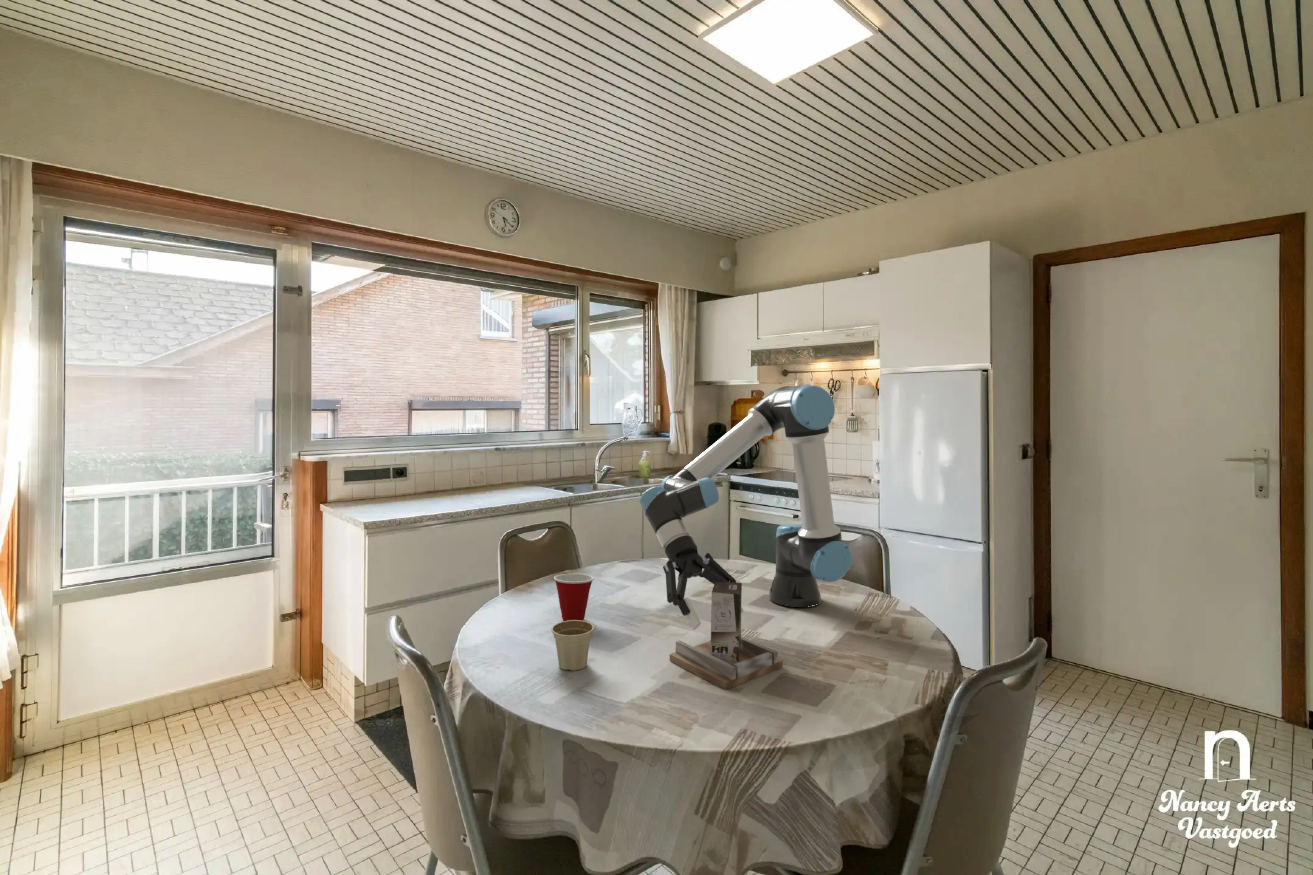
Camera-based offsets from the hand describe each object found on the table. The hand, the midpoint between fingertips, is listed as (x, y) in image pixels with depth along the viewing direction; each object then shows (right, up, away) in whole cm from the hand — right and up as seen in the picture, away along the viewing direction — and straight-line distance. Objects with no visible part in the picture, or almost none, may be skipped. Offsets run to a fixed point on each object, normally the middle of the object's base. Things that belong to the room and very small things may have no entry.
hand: (719, 620), depth 139 cm
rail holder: (+1, -10, -1) cm, 10 cm away
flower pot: (-33, -9, -3) cm, 34 cm away
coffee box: (+1, -8, -1) cm, 8 cm away
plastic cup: (-37, -8, +26) cm, 46 cm away
